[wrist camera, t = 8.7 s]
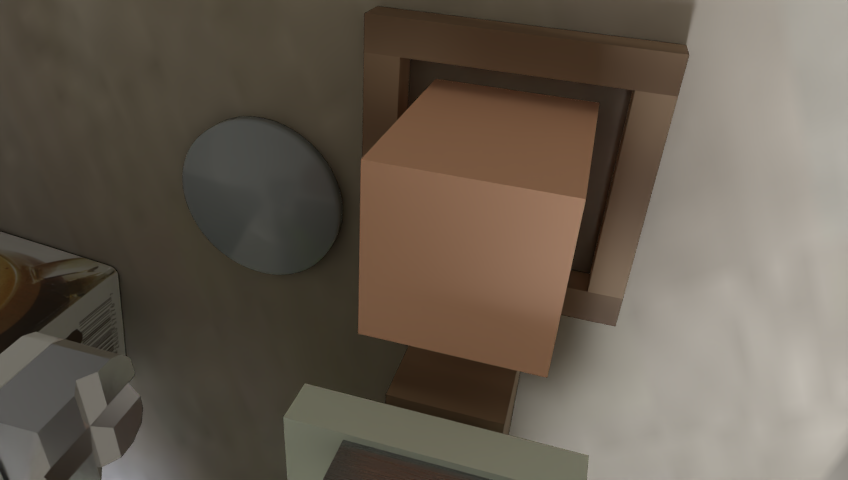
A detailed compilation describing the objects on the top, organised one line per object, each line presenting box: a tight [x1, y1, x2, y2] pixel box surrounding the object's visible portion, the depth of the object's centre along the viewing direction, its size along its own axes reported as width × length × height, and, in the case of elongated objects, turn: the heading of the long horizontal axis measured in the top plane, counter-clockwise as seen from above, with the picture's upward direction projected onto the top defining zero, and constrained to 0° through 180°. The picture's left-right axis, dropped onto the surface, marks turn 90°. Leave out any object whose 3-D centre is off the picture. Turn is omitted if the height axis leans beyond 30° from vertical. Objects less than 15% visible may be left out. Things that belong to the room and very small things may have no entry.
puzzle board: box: [362, 6, 689, 435], centre depth 19 cm, size 18×8×6 cm, turn 176°
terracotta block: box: [358, 79, 599, 378], centre depth 16 cm, size 4×4×6 cm
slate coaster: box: [183, 116, 343, 275], centre depth 21 cm, size 6×6×1 cm
